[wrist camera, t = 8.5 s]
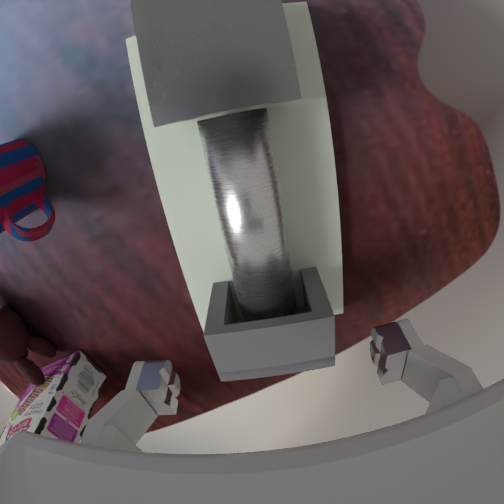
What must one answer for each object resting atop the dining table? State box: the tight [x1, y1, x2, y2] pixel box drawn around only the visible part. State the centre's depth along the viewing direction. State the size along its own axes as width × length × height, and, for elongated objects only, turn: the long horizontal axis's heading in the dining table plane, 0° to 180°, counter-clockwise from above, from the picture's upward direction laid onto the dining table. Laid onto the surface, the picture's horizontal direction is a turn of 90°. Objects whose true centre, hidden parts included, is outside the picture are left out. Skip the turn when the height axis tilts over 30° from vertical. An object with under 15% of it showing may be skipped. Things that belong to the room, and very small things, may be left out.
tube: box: [197, 108, 297, 322], centre depth 19 cm, size 15×4×4 cm, turn 10°
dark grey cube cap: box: [131, 0, 302, 128], centre depth 13 cm, size 7×7×6 cm
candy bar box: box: [0, 350, 107, 446], centre depth 23 cm, size 11×5×16 cm, turn 119°
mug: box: [0, 140, 55, 241], centre depth 17 cm, size 7×10×7 cm
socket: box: [203, 267, 335, 382], centre depth 21 cm, size 4×8×6 cm, turn 100°
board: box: [126, 2, 343, 332], centre depth 20 cm, size 24×12×1 cm, turn 10°
